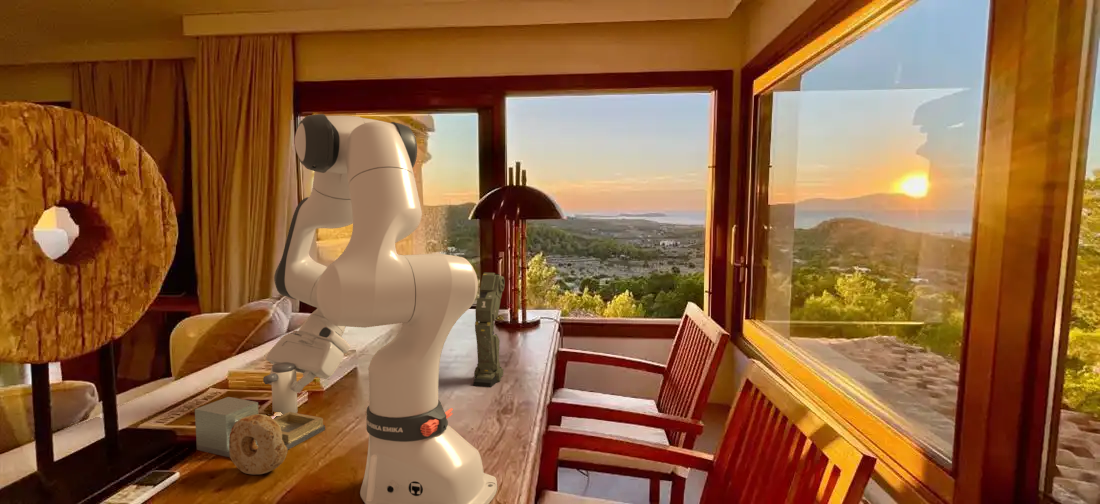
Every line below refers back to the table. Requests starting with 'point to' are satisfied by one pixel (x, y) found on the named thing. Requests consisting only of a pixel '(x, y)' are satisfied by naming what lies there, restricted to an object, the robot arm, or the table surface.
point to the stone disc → (246, 450)
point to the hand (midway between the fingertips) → (281, 387)
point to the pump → (283, 387)
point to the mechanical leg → (488, 331)
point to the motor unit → (226, 412)
